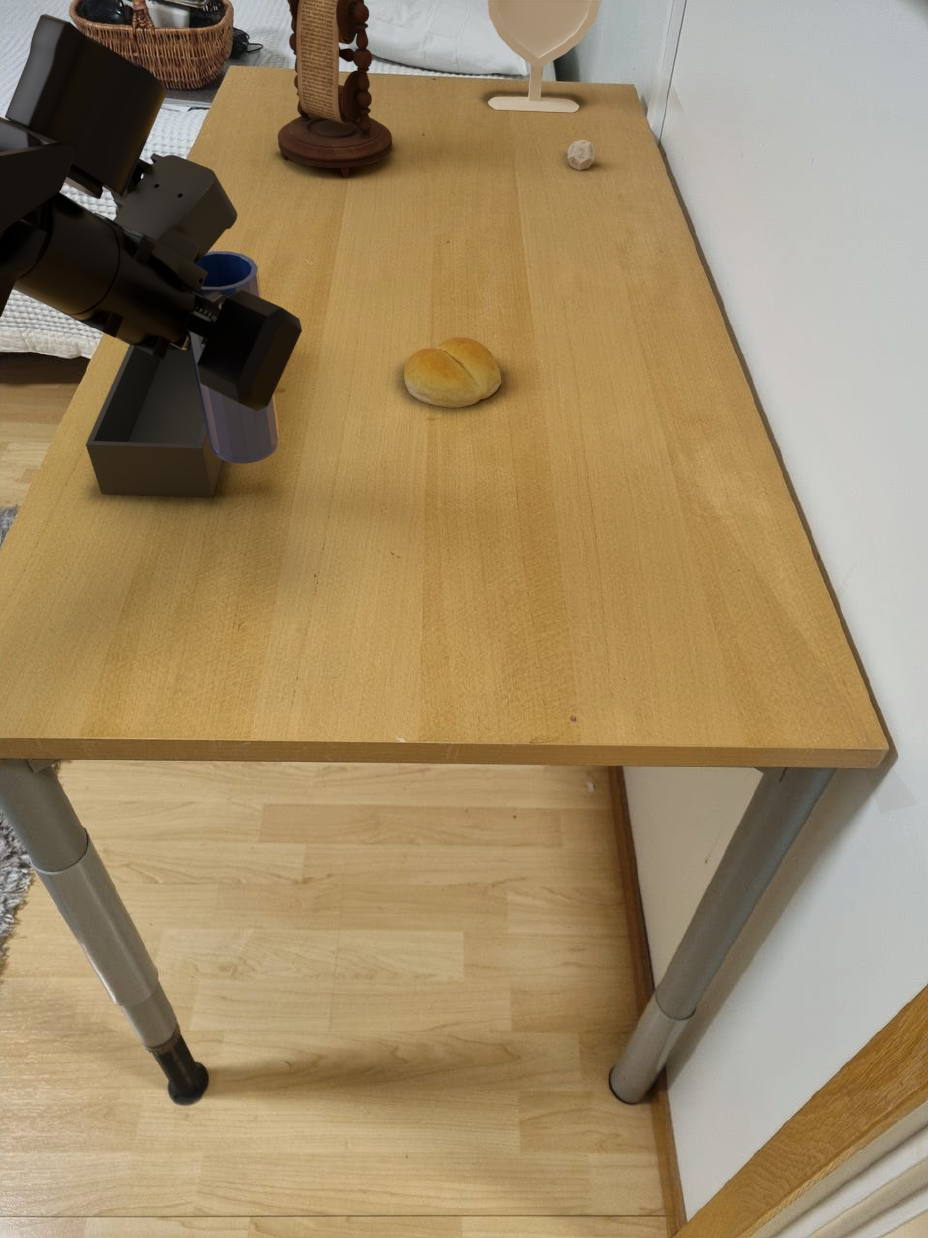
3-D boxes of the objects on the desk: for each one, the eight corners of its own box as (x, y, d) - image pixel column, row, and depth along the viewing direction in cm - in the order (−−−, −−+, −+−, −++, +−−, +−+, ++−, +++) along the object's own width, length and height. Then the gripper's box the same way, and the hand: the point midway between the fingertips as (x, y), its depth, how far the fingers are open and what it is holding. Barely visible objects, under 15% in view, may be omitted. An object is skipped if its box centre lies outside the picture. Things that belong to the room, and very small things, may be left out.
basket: (213, 502, 76) (202, 448, 72) (102, 498, 76) (85, 444, 72) (254, 353, 91) (246, 302, 87) (161, 350, 91) (149, 298, 87)
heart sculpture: (481, 108, 136) (489, -39, 123) (480, 96, 139) (487, -49, 126) (587, 112, 137) (606, -34, 123) (583, 100, 140) (601, -44, 127)
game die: (560, 166, 124) (563, 142, 121) (577, 158, 125) (580, 134, 123) (581, 174, 122) (584, 150, 120) (598, 166, 124) (602, 142, 122)
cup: (239, 473, 69) (209, 298, 59) (196, 442, 71) (160, 268, 61) (293, 442, 72) (273, 270, 61) (250, 414, 74) (223, 243, 64)
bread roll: (388, 380, 89) (387, 342, 86) (465, 352, 93) (466, 316, 90) (437, 424, 85) (437, 386, 82) (515, 393, 88) (518, 356, 85)
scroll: (256, 161, 121) (234, -21, 106) (322, 125, 130) (311, -48, 115) (351, 189, 116) (342, 4, 101) (413, 150, 125) (413, -26, 110)
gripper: (260, 175, 48) (396, 291, 63) (29, 87, 55) (199, 210, 69) (174, 374, 50) (326, 443, 64) (-41, 263, 56) (140, 348, 71)
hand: (245, 353), depth 67 cm, fingers closed on cup, 5 cm apart
